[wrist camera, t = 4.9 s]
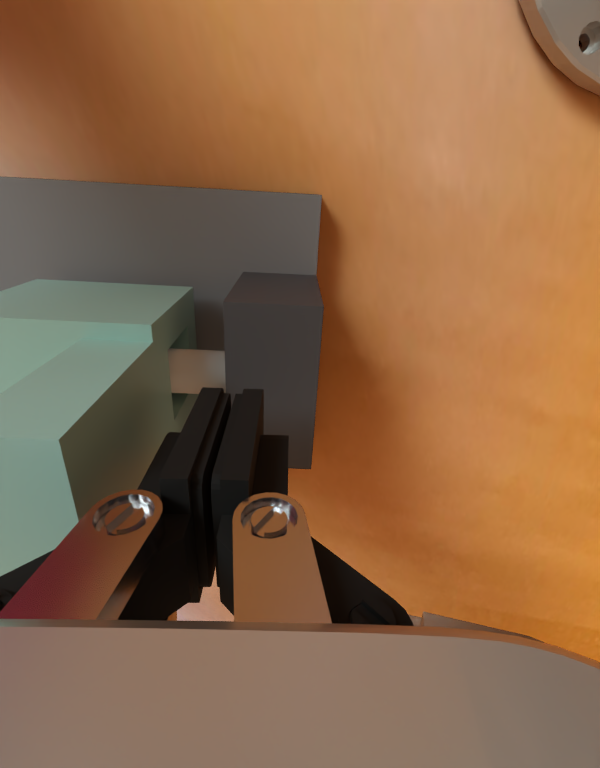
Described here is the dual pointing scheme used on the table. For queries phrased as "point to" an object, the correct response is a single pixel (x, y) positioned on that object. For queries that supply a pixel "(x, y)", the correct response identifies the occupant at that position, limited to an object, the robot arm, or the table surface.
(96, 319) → the sage stepped block
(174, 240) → the slider rail fixture
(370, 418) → the table surface
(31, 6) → the table surface
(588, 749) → the robot arm
